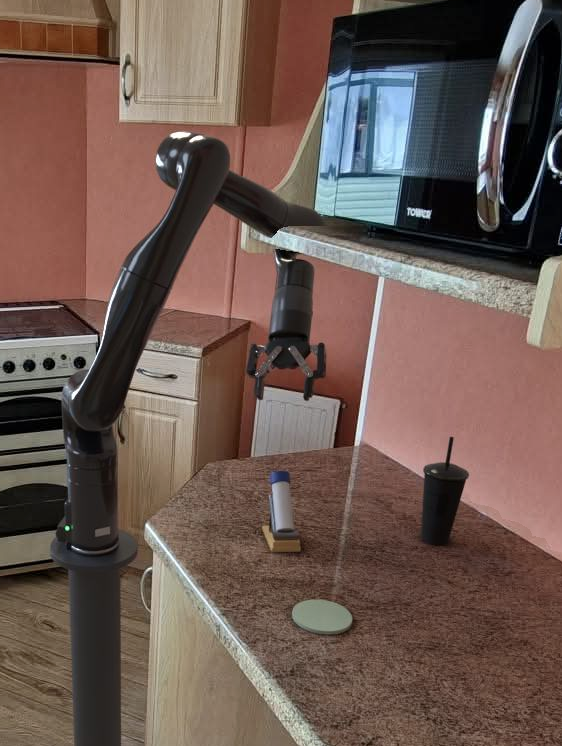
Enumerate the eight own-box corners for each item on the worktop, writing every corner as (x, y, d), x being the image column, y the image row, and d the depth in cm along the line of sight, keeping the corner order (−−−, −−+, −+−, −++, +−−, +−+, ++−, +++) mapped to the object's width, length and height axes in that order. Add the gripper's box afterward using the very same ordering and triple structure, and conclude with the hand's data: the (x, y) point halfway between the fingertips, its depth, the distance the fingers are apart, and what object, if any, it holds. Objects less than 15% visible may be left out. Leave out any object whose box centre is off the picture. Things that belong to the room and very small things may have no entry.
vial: (265, 515, 151) (269, 465, 147) (284, 514, 151) (288, 465, 147) (276, 539, 141) (280, 487, 137) (296, 539, 141) (300, 487, 138)
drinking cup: (465, 543, 145) (485, 440, 137) (434, 552, 142) (452, 447, 134) (434, 527, 151) (450, 427, 143) (404, 535, 148) (419, 433, 140)
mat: (290, 630, 118) (291, 626, 118) (293, 599, 127) (293, 596, 126) (352, 638, 117) (353, 634, 116) (351, 606, 125) (351, 603, 124)
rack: (262, 529, 150) (264, 492, 147) (289, 529, 150) (292, 491, 147) (271, 552, 141) (274, 513, 138) (300, 551, 142) (304, 512, 139)
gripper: (249, 308, 146) (239, 392, 143) (326, 306, 141) (318, 393, 138) (258, 324, 153) (249, 405, 150) (333, 323, 148) (325, 406, 145)
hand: (282, 399), depth 144 cm, fingers open, 8 cm apart
